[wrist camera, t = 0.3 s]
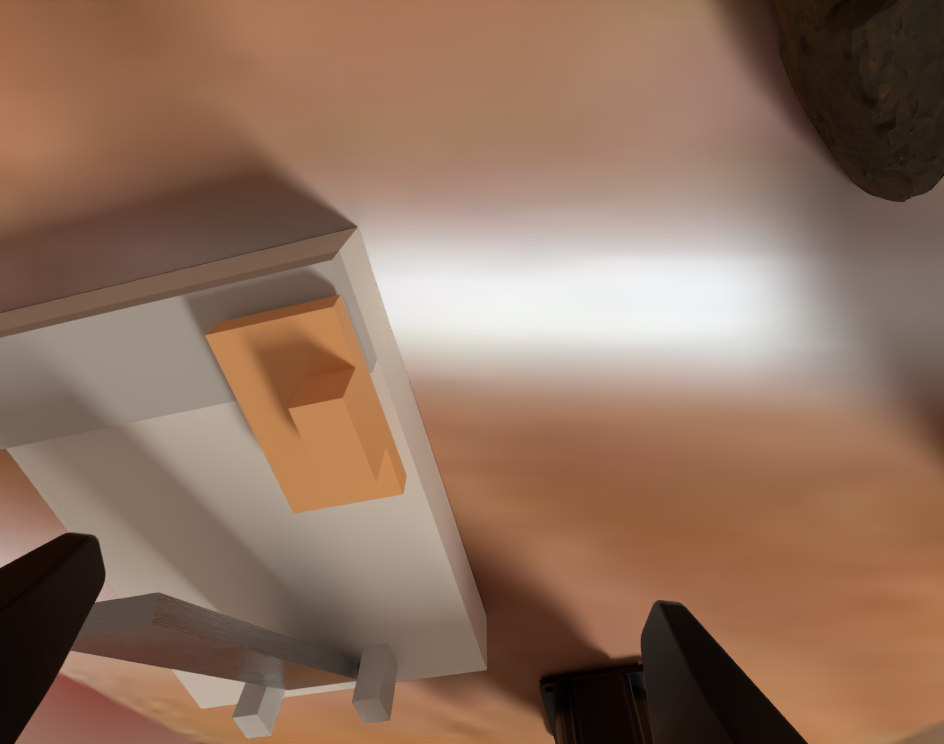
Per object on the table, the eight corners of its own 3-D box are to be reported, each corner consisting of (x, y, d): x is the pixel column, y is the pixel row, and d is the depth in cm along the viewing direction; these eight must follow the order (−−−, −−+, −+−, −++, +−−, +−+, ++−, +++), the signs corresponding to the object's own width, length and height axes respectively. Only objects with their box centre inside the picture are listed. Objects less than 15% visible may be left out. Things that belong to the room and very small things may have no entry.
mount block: (486, 617, 30) (487, 725, 25) (224, 655, 32) (176, 763, 27) (357, 227, 21) (318, 277, 16) (-5, 314, 22) (-144, 384, 17)
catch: (406, 475, 20) (396, 531, 18) (301, 495, 21) (277, 552, 18) (340, 294, 17) (317, 332, 15) (219, 322, 18) (175, 363, 15)
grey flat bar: (363, 662, 27) (363, 681, 27) (293, 672, 28) (292, 690, 27) (158, 592, 15) (152, 623, 15) (40, 611, 16) (30, 643, 15)
